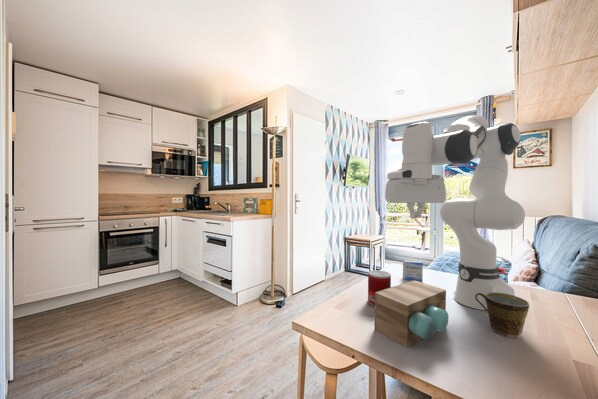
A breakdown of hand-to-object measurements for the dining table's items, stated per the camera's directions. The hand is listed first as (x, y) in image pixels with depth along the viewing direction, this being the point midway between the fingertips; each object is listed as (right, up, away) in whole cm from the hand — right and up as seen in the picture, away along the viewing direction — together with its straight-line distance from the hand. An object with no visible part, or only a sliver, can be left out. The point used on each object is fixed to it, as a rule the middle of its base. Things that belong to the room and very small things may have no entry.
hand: (415, 217), depth 80 cm
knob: (-2, -30, -6) cm, 31 cm away
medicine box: (+17, -33, +40) cm, 54 cm away
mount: (-2, -33, -6) cm, 34 cm away
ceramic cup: (+23, -34, -5) cm, 41 cm away
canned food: (-7, -33, +13) cm, 36 cm away
